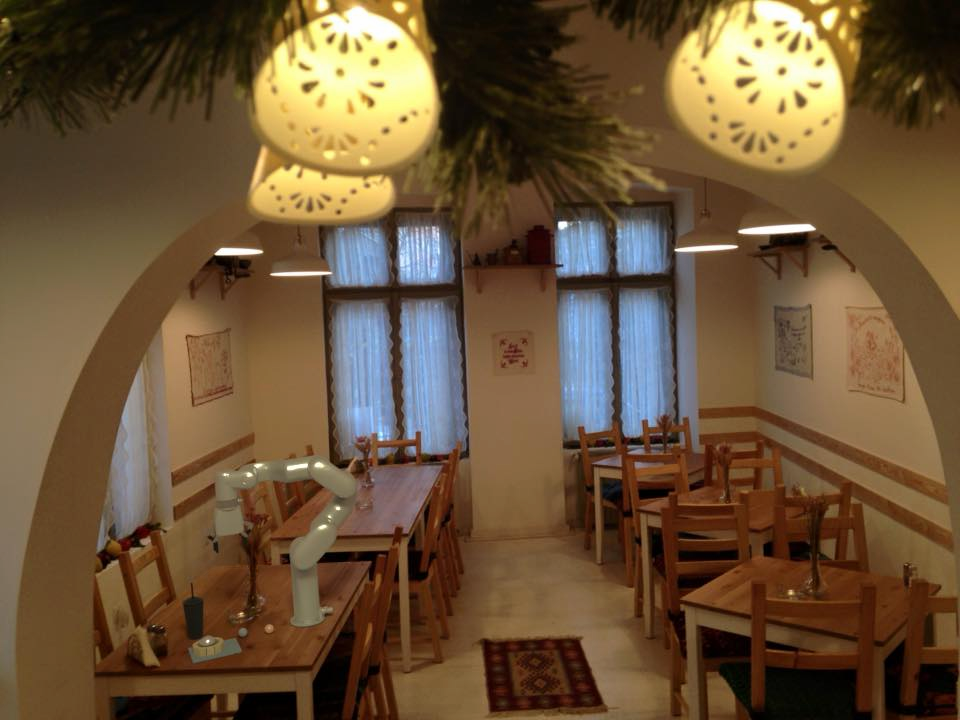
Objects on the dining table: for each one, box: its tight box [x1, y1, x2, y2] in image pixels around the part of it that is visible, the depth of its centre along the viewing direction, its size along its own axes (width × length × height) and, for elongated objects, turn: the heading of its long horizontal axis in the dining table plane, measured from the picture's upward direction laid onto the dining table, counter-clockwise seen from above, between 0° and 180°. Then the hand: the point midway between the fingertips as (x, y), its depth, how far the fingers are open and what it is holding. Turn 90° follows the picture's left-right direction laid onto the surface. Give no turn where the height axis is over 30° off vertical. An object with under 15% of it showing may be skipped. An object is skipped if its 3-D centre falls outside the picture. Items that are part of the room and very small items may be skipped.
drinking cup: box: [181, 582, 205, 641], centre depth 300 cm, size 8×8×20 cm
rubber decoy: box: [237, 627, 248, 638], centre depth 298 cm, size 3×3×3 cm
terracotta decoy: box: [264, 624, 275, 635], centre depth 300 cm, size 3×3×3 cm
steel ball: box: [200, 635, 215, 647], centre depth 285 cm, size 5×5×5 cm
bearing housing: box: [187, 636, 243, 664], centre depth 286 cm, size 16×12×4 cm
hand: (230, 550), depth 302 cm, fingers open, 9 cm apart
